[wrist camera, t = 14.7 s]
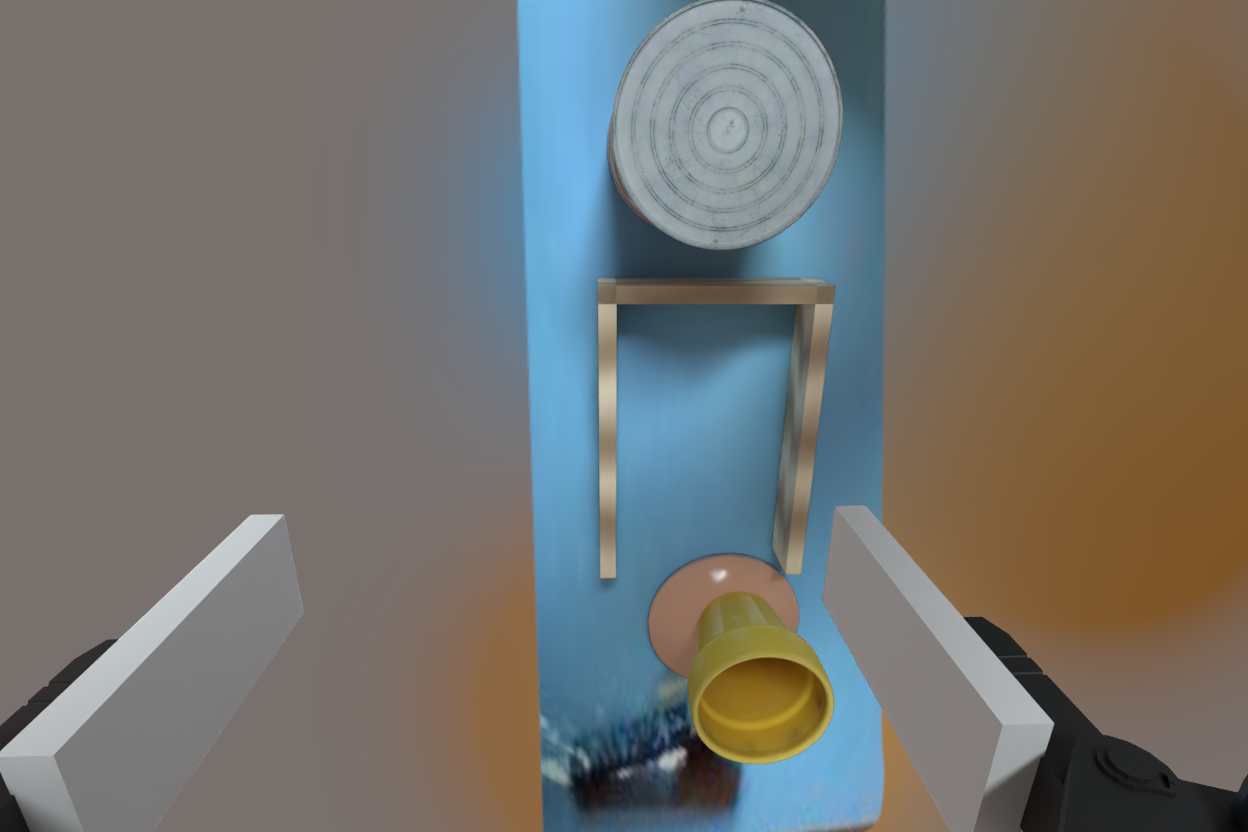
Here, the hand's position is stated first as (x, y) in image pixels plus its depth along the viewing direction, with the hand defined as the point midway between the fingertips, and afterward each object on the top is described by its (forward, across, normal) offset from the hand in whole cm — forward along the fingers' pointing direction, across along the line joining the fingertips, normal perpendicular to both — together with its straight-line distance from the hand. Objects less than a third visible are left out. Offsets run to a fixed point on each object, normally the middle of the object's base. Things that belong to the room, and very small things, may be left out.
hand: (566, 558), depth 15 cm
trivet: (+32, +12, -27) cm, 43 cm away
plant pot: (+31, +13, -27) cm, 43 cm away
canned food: (+32, +7, +11) cm, 35 cm away
